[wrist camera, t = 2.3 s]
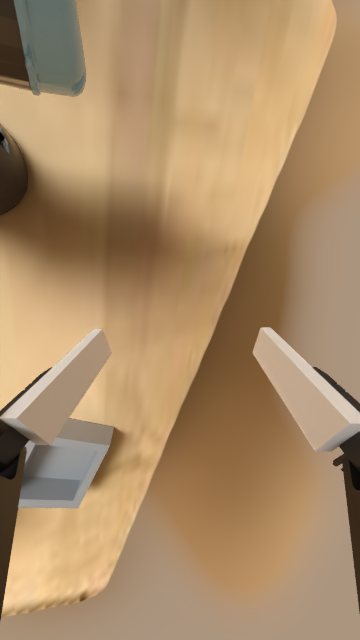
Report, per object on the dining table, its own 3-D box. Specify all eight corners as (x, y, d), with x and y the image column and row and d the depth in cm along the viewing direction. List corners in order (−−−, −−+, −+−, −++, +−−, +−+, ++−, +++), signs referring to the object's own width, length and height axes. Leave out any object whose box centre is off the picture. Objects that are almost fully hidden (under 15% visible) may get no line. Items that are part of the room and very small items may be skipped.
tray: (13, 476, 25) (-10, 507, 21) (46, 413, 25) (29, 433, 21) (86, 481, 29) (78, 508, 25) (114, 427, 29) (110, 445, 25)
